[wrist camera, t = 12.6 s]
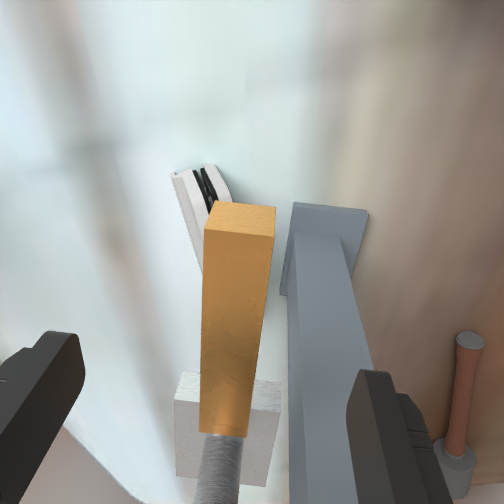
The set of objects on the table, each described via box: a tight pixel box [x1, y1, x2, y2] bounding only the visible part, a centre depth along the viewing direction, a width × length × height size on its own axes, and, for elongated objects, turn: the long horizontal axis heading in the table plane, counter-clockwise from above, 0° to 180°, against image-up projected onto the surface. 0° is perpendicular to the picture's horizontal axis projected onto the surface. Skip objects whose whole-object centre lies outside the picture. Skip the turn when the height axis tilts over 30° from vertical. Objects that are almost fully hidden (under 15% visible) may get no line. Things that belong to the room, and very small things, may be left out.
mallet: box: [433, 331, 485, 499], centre depth 54 cm, size 6×6×30 cm
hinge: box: [170, 164, 233, 275], centre depth 40 cm, size 17×5×10 cm, turn 11°
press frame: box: [280, 202, 374, 504], centre depth 29 cm, size 15×12×36 cm
